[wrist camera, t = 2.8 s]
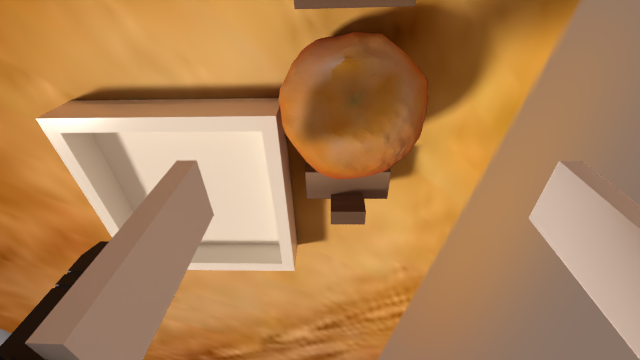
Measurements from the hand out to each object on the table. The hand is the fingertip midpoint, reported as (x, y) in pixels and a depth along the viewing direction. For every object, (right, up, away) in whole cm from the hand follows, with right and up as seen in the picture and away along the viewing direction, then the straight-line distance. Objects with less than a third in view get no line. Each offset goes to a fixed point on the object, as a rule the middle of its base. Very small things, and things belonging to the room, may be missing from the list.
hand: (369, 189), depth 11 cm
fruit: (0, +7, +9) cm, 11 cm away
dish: (-12, 0, +13) cm, 18 cm away
